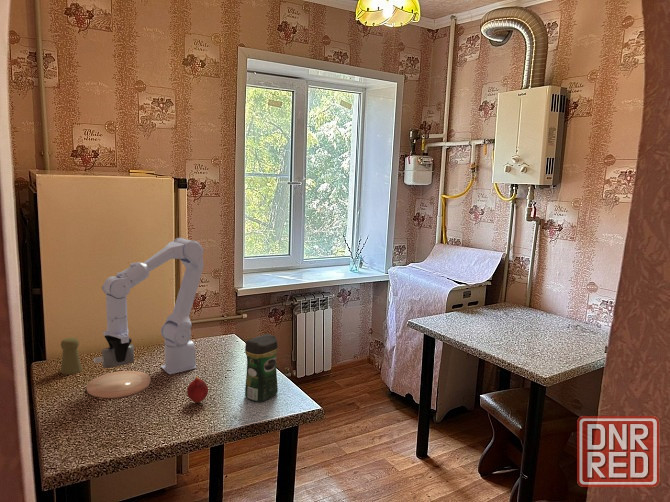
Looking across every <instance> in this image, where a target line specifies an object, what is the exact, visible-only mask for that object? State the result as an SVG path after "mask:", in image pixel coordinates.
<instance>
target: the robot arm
mask: <svg viewBox="0 0 670 502" xmlns="http://www.w3.org/2000/svg"><path fill="white" fill-rule="evenodd" d="M204 251H205V249H204V248H203V246H202V245H201V243H200V242H198V241H196V240H190V239H187V238H183V237H177V238H175V239H173V240H172V241H170V242H168V243H167V244H166V246H164V247H162V249H160V250H159V251H158V252H156V253H154V254H153V255H152V256H150V257H149V258H148V259H146V260H145V261H143V262H139V261H137V262H131V263H130V264H129V267H127V268H125V269H124V270H122V271H118V272H117V273H116V274H115V275H116V276H115V275H114V276H112V275H111V276H109V277H107V278H106V279H105V280H104V281H103V285H102V286H101V289H102V292H103V293H105V305H106V309H105V310H106V330H104V331H102V334H103V336H104V338H105V340H106V341H107V344H108V348H109V347H113V348H114V351H115V356H116V360H117V362H123V361H125V358H126V354H127V350H128V347H129V345H130V344H131V343H132V340H133V339H132V338H131V337H129V328H128V327H129V323H128V301H127V299H128V298H127V297H128V295H129V294H130V292H131V289H132V288H134V287H135V286H137V285H138V284H140V283H142V282H143V281H145V280H146V279H148V277H149V276H150V272H152V271H153V270H155V269H156V268H158V267H160V266H162V265H163V264H165V263H167V262H168V261H170V260H174V259H175V260H178V259H179V260H180V261H181V262H182V264H183V266H184V267H185V271H184V273H183V277H182V281H181V283H180V288H179V291H178V294H177V297H176V301H175V304H174V307H173V310H172V313H171V314H169V315H168V316H167V317H166V320H165V322H164V323H163V324H162V326H161V328H160V334H161V337H162V338H163V339H164V364H162V365H160V368H161V369H162V370H164V371H165V373H167V374H168V375H174V374H177V373H182V372H186V371H190V370H193V369H197V365H196V347H195V343H194V341H192V340H191V338H192V331H191V330H192V329H191V328H192V326H193V325H192V322H191V319H190V315H191V311H192V308H193V305H194V301H195V298H196V294H197V291H198V288H199V284H200V280H201V279H202V273H203V270H204V267H205V266H204V257H203V256H204Z"/></svg>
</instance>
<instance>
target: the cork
mask: <svg viewBox="0 0 670 502" xmlns="http://www.w3.org/2000/svg"><path fill="white" fill-rule="evenodd" d="M79 345H80V341H79V339H78V337H77V338H76V337H66V338H63V339H62V340H61V342H60V348H61V349H62V356H61V357H62V358H61V368H60V373H61V374H62V375H67V376H68V375H74V374H79V373H80V372H81V371H82V364H81V360H80V354H79V350H78V347H79Z"/></svg>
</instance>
